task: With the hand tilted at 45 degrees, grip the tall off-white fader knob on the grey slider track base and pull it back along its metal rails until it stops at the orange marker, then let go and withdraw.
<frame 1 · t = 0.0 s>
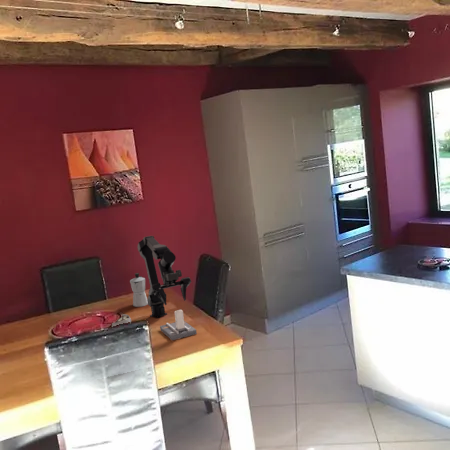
hand: (175, 302, 229), 15 cm above the table, tool tilted 35°, fingers open, 9 cm apart
fader: (179, 320, 229), point 7 cm above the table, slide at 0.0 cm
food container: (126, 339, 231), on the table
coffee maker: (141, 304, 283), on the table
grey slider track base: (178, 331, 234), on the table
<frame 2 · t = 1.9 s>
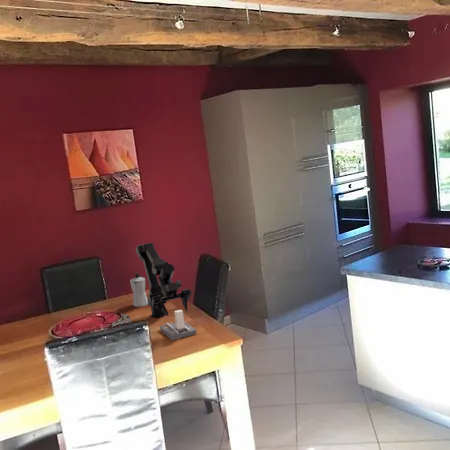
hand: (177, 313, 230), 10 cm above the table, tool tilted 45°, fingers open, 9 cm apart
nothing on the table moved.
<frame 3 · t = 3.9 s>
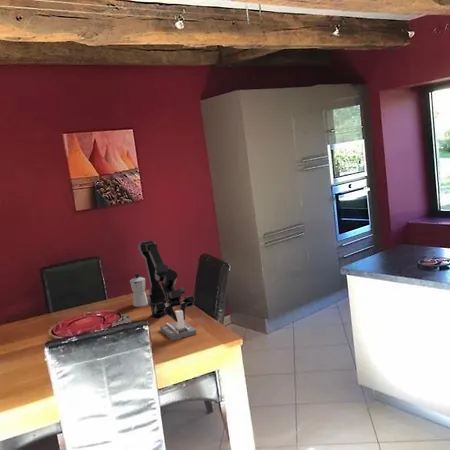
hand: (180, 320, 228), 7 cm above the table, tool tilted 45°, fingers closed on fader, 3 cm apart
fader: (179, 320, 229), point 7 cm above the table, slide at 0.0 cm, touching gripper
everything else where it was.
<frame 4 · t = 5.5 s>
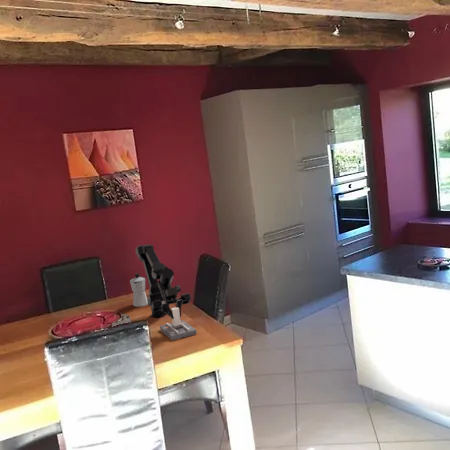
hand: (176, 317, 232), 7 cm above the table, tool tilted 45°, fingers closed on fader, 3 cm apart
fader: (175, 317, 234), point 7 cm above the table, slide at 4.9 cm, touching gripper
everything else where it was.
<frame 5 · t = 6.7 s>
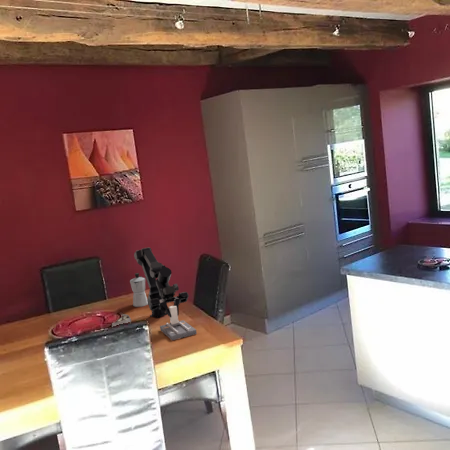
hand: (174, 316, 235), 7 cm above the table, tool tilted 45°, fingers closed on fader, 3 cm apart
fader: (173, 315, 236), point 7 cm above the table, slide at 8.0 cm, touching gripper
everything else where it was.
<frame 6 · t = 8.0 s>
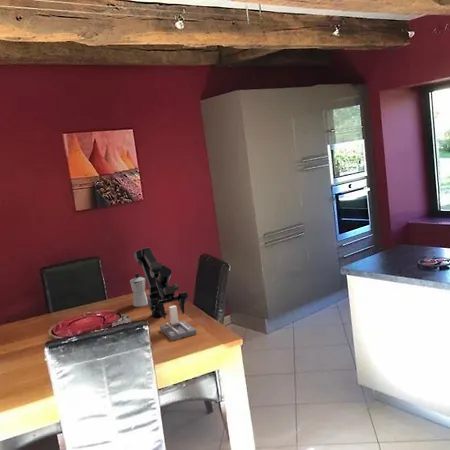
hand: (174, 316, 235), 7 cm above the table, tool tilted 45°, fingers open, 9 cm apart
fader: (173, 315, 236), point 7 cm above the table, slide at 8.0 cm
everything else where it was.
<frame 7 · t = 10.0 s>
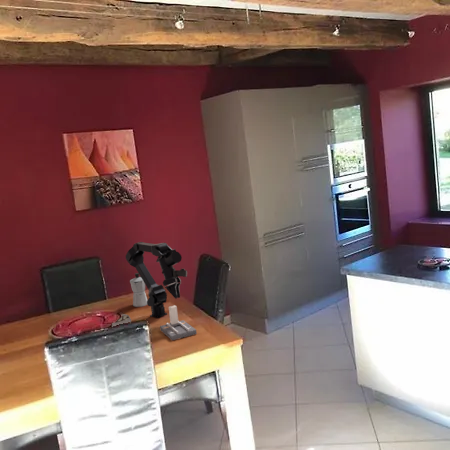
hand: (177, 298, 245), 12 cm above the table, tool tilted 20°, fingers open, 9 cm apart
nothing on the table moved.
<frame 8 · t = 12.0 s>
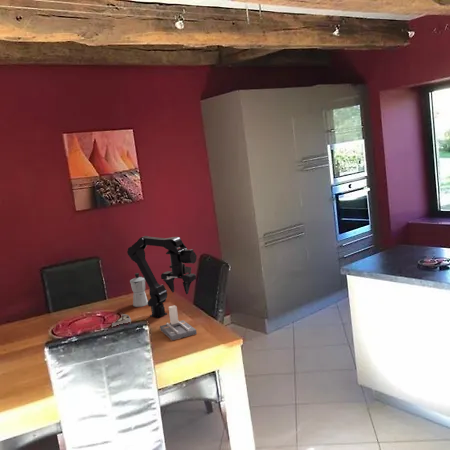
hand: (180, 293, 250), 13 cm above the table, tool pointing down, fingers open, 9 cm apart
nothing on the table moved.
at the end: fader slide at 8.0 cm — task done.
